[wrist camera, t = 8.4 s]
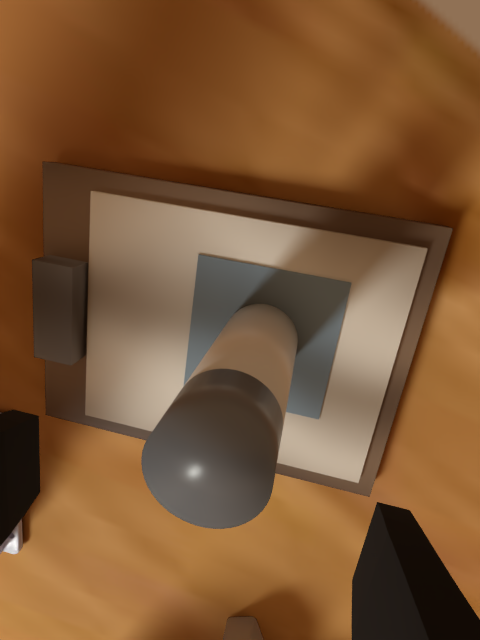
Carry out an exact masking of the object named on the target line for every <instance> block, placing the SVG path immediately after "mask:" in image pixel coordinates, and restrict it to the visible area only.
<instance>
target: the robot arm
mask: <svg viewBox="0 0 480 640" xmlns="http://www.w3.org/2000/svg"><path fill="white" fill-rule="evenodd" d="M39 493H40V461H39V416H37V415H33V414H29V413H25V412H21V411H17V410H10V411H7V412H4V413H0V554H1V552H2V551H5V552H8V553H11V554H17V553H18V552H19V551H20V550H21V549H22V547H23V538H22V518H23V516H24V515H25V513H26V512H27V510H28V509H29V507H30V506H31V504H32V503H33V501H34V500H35V499H36V497H37V496H38V494H39ZM352 640H480V619H479V618H478V616H477V615H476V613H475V612H474V610H473V609H472V607H471V606H470V604H469V603H468V601H467V600H466V598H465V597H464V595H463V594H462V592H461V591H460V589H459V588H458V586H457V585H456V583H455V581H454V580H453V578H452V577H451V575H450V574H449V572H448V570H447V569H446V567H445V566H444V564H443V563H442V561H441V559H440V558H439V556H438V555H437V553H436V551H435V550H434V548H433V547H432V545H431V543H430V542H429V540H428V538H427V537H426V535H425V534H424V532H423V530H422V529H421V527H420V526H419V524H418V522H417V521H416V519H415V518H414V516H413V515H412V513H411V511H410V510H406V509H402V508H399V507H395V506H391V505H387V504H383V503H379V502H377V505H376V508H375V511H374V514H373V517H372V520H371V523H370V526H369V529H368V533H367V536H366V539H365V542H364V545H363V548H362V551H361V554H360V558H359V561H358V564H357V567H356V570H355V573H354V576H353V579H352Z"/></svg>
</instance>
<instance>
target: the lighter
mask: <svg viewBox="0 0 480 640" xmlns="http://www.w3.org/2000/svg"><path fill="white" fill-rule="evenodd" d="M223 640H264V639H263V637H262V634H261V631H260V628H259V626H258V623H257V620H256V618H254V617H229V618H228V619H227V623H226V627H225V632H224V636H223Z"/></svg>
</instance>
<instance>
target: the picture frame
mask: <svg viewBox="0 0 480 640" xmlns="http://www.w3.org/2000/svg"><path fill="white" fill-rule="evenodd" d="M452 230H453V228H450V227H448V226H443V225H436V224H430V223H424V222H418V221H412V220H406V219H400V218H394V217H387V216H381V215H375V214H369V213H363V212H357V211H351V210H344V209H338V208H332V207H326V206H320V205H314V204H308V203H302V202H295V201H289V200H283V199H277V198H271V197H265V196H259V195H252V194H246V193H240V192H234V191H228V190H222V189H216V188H209V187H203V186H197V185H191V184H185V183H179V182H173V181H167V180H160V179H154V178H148V177H142V176H136V175H130V174H124V173H117V172H111V171H105V170H99V169H93V168H87V167H81V166H75V165H68V164H62V163H56V162H43V234H44V257H40V258H37V259H33V260H32V281H33V327H34V357H36V358H41V359H45V398H46V415H48V416H52V417H56V418H60V419H64V420H68V421H72V422H76V423H80V424H84V425H88V426H92V427H96V428H100V429H104V430H107V431H111V432H115V433H119V434H123V435H127V436H131V437H135V438H139V439H143V440H147V439H148V437H149V436H150V434H151V433H152V431H153V430H154V428H155V427H156V425H157V424H158V423H159V421H160V420H161V418H162V417H163V415H164V414H165V412H166V411H167V410H168V408H169V407H170V405H171V404H172V402H173V401H174V399H175V398H176V396H177V395H178V394H179V392H180V391H181V389H182V388H183V386H184V385H185V383H186V382H187V381H188V379H189V378H190V376H191V375H192V373H193V372H194V370H195V369H196V367H197V366H198V365H199V363H200V362H201V360H202V359H203V357H204V356H205V354H206V353H207V352H208V350H209V349H210V347H211V346H212V344H213V343H214V341H215V340H216V338H217V337H218V336H219V334H220V333H221V331H222V330H223V328H224V327H225V325H226V324H227V323H228V321H229V320H230V318H231V317H232V316H233V315H234V314H235V313H236V312H237V311H238V310H239V309H241V308H243V307H245V306H248V305H252V304H267V305H271V306H274V307H276V308H278V309H280V310H281V311H283V312H284V313H285V314H286V315H287V316H288V317H289V318H290V319H291V321H292V322H293V324H294V326H295V328H296V331H297V336H298V344H297V351H296V356H295V362H294V368H293V374H292V379H291V385H290V391H289V396H288V402H287V408H286V414H285V419H284V425H283V431H282V437H281V442H280V448H279V454H278V460H277V465H276V471H275V473H277V474H281V475H285V476H289V477H293V478H297V479H301V480H305V481H309V482H313V483H317V484H321V485H325V486H328V487H332V488H336V489H340V490H344V491H348V492H352V493H356V494H360V495H364V496H368V497H370V494H371V490H372V487H373V484H374V481H375V478H376V474H377V471H378V468H379V465H380V461H381V458H382V455H383V452H384V449H385V445H386V442H387V439H388V436H389V433H390V429H391V426H392V423H393V420H394V416H395V413H396V410H397V407H398V404H399V400H400V397H401V394H402V391H403V388H404V384H405V381H406V378H407V375H408V371H409V368H410V365H411V362H412V359H413V355H414V352H415V349H416V346H417V343H418V339H419V336H420V333H421V330H422V326H423V323H424V320H425V317H426V314H427V310H428V307H429V304H430V301H431V298H432V294H433V291H434V288H435V285H436V281H437V278H438V275H439V272H440V269H441V265H442V262H443V259H444V256H445V253H446V249H447V246H448V243H449V240H450V236H451V233H452Z"/></svg>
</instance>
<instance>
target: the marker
mask: <svg viewBox="0 0 480 640" xmlns="http://www.w3.org/2000/svg"><path fill="white" fill-rule="evenodd" d="M297 344H298V336H297V331H296V328H295V326H294V324H293V322H292V321H291V319H290V318H289V317H288V316H287V315H286V314H285V313H284V312H283V311H281V310H280V309H278V308H276V307H274V306H271V305H267V304H252V305H248V306H245V307H243V308H241V309H239V310H238V311H237V312H236V313H235V314H234V315H233V316H232V317H231V318H230V320H229V321H228V323H227V324H226V325H225V327H224V328H223V330H222V331H221V333H220V334H219V336H218V337H217V338H216V340H215V341H214V343H213V344H212V346H211V347H210V349H209V350H208V352H207V353H206V354H205V356H204V357H203V359H202V360H201V362H200V363H199V365H198V366H197V367H196V369H195V370H194V372H193V373H192V375H191V376H190V378H189V379H188V381H187V382H186V383H185V385H184V386H183V388H182V389H181V391H180V392H179V394H178V395H177V396H176V398H175V399H174V401H173V402H172V404H171V405H170V407H169V408H168V410H167V411H166V412H165V414H164V415H163V417H162V418H161V420H160V421H159V423H158V424H157V425H156V427H155V428H154V430H153V431H152V433H151V434H150V436H149V437H148V439H147V441H146V443H145V445H144V448H143V452H142V471H143V475H144V479H145V481H146V483H147V486H148V488H149V489H150V491H151V493H152V494H153V496H154V497H155V498H156V500H157V501H158V502H159V503H160V504H161V505H162V506H163V507H164V508H165V509H167V510H168V511H169V512H170V513H172V514H173V515H175V516H176V517H178V518H180V519H182V520H184V521H186V522H188V523H191V524H194V525H197V526H201V527H205V528H213V529H224V528H231V527H236V526H239V525H242V524H245V523H247V522H248V521H250V520H252V519H253V518H255V517H256V516H257V515H258V514H259V513H260V512H261V511H262V510H263V509H264V508H265V506H266V505H267V503H268V501H269V499H270V496H271V493H272V488H273V483H274V477H275V471H276V465H277V460H278V454H279V448H280V442H281V437H282V431H283V425H284V419H285V414H286V408H287V402H288V396H289V391H290V385H291V379H292V374H293V368H294V362H295V356H296V351H297Z"/></svg>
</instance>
